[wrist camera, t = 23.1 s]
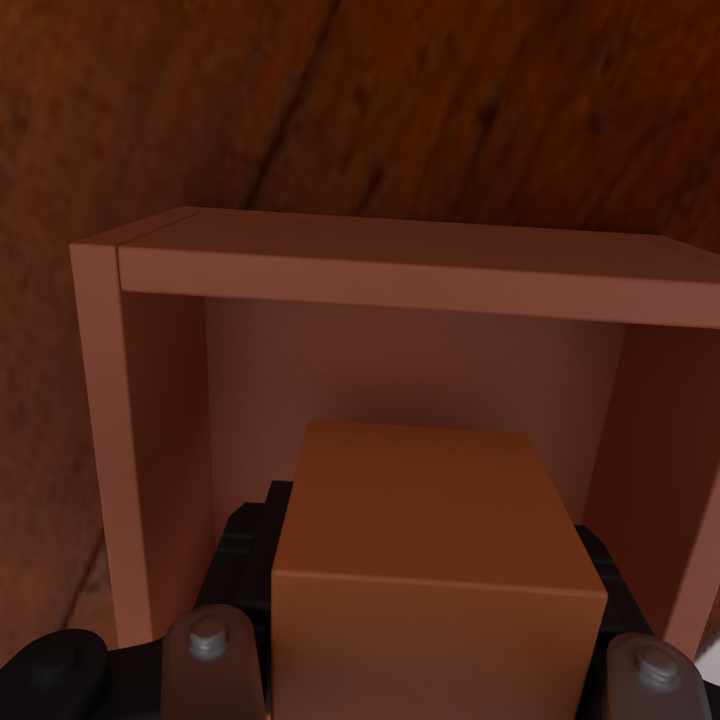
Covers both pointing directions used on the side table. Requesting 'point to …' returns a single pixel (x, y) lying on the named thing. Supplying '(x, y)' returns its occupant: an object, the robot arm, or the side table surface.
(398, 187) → the side table surface
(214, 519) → the terracotta bin
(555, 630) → the block
